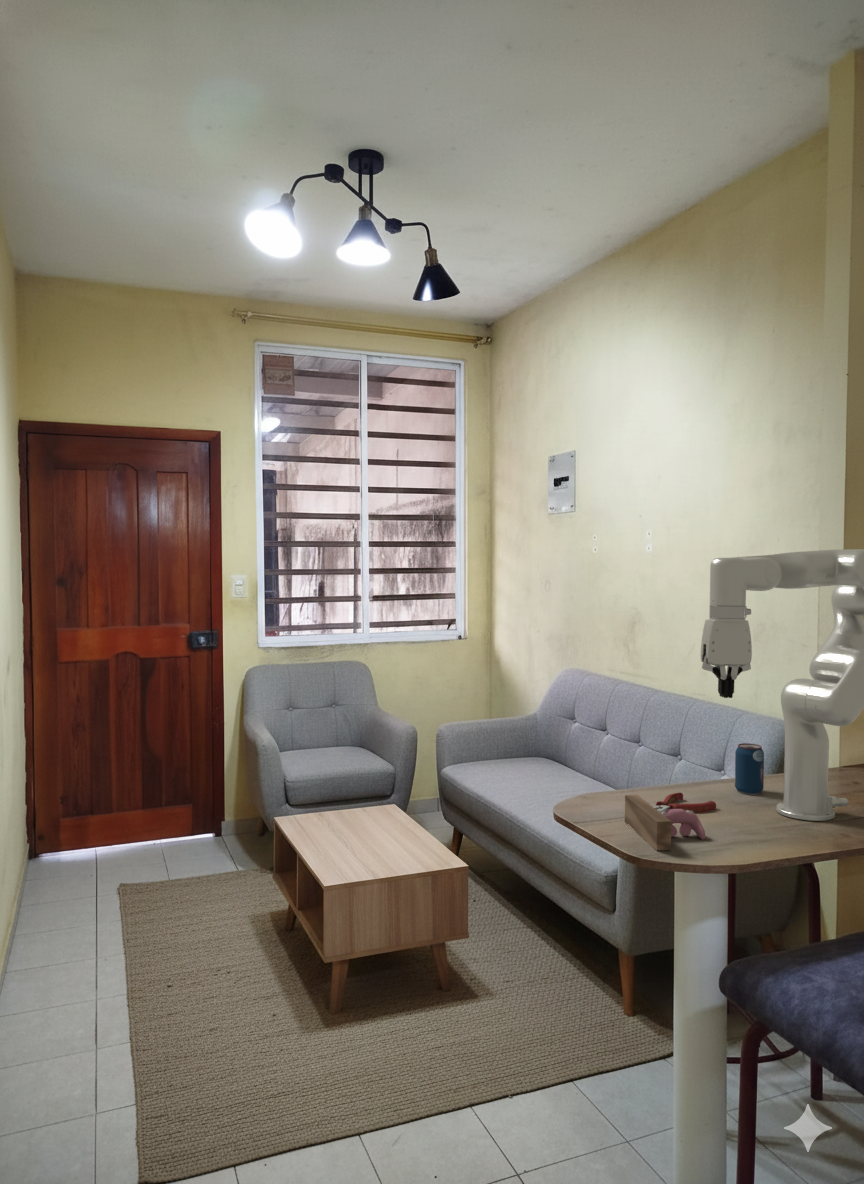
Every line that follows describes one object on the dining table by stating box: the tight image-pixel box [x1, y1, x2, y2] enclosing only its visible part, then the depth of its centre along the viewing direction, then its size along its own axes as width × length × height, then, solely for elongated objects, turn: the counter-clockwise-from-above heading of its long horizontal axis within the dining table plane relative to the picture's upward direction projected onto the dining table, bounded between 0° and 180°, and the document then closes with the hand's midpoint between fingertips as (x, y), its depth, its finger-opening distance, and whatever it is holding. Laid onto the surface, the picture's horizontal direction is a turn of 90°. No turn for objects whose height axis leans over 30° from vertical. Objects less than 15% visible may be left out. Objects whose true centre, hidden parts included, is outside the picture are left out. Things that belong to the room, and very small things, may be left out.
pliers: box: [653, 792, 717, 814], centre depth 202 cm, size 12×20×3 cm, turn 127°
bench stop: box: [624, 794, 672, 852], centre depth 183 cm, size 3×20×6 cm, turn 6°
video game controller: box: [661, 809, 706, 841], centre depth 182 cm, size 10×5×7 cm, turn 101°
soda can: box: [734, 742, 765, 796], centre depth 220 cm, size 7×7×12 cm
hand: (725, 696), depth 188 cm, fingers closed
